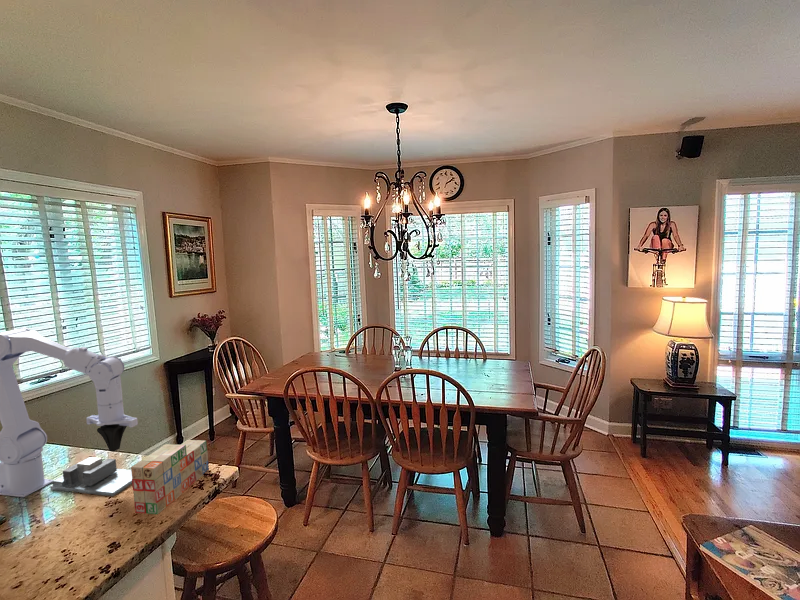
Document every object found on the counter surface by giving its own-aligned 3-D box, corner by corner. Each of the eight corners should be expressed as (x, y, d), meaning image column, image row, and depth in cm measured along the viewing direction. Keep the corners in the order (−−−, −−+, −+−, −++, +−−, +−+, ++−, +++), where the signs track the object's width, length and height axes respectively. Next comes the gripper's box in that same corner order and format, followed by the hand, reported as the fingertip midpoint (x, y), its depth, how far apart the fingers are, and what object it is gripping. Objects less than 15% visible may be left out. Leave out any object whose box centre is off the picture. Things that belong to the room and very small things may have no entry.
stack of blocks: (189, 469, 123) (186, 429, 121) (209, 470, 122) (206, 430, 120) (134, 513, 102) (130, 466, 100) (157, 515, 101) (153, 467, 99)
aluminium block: (78, 480, 115) (76, 463, 114) (91, 473, 119) (90, 456, 118) (90, 482, 114) (88, 464, 114) (103, 474, 118) (101, 457, 118)
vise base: (50, 489, 113) (48, 472, 112) (87, 469, 123) (86, 453, 123) (113, 496, 109) (111, 479, 108) (145, 474, 120) (144, 458, 119)
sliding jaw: (83, 485, 112) (82, 472, 112) (109, 469, 120) (108, 458, 120) (91, 485, 112) (90, 473, 111) (116, 470, 120) (115, 459, 119)
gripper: (73, 406, 110) (79, 454, 111) (120, 409, 107) (125, 458, 109) (97, 397, 117) (102, 443, 118) (142, 399, 114) (146, 446, 116)
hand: (114, 449), depth 114 cm, fingers closed
